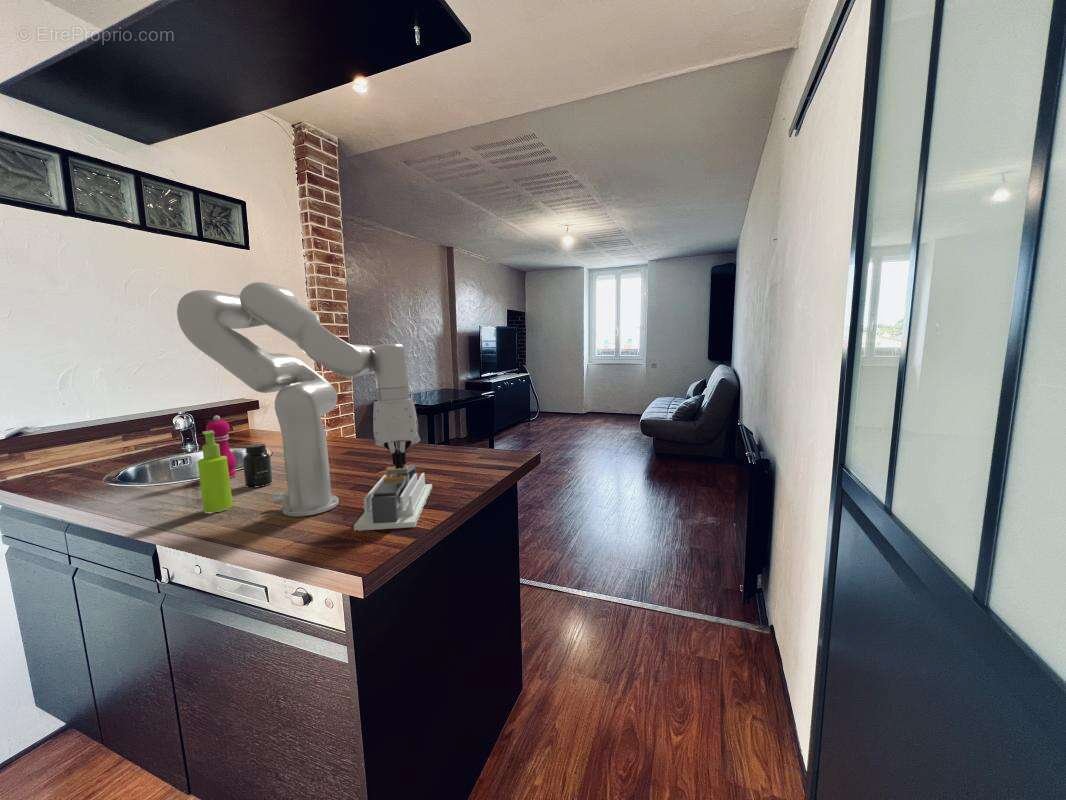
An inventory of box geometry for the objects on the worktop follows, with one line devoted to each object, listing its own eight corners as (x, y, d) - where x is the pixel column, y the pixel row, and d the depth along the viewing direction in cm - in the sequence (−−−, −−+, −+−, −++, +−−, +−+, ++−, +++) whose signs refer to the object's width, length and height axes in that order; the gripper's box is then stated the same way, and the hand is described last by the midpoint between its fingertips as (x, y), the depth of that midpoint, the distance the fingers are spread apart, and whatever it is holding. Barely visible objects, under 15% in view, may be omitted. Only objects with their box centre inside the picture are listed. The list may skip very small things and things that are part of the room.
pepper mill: (223, 481, 131) (215, 417, 128) (203, 480, 132) (195, 417, 129) (243, 474, 138) (236, 413, 135) (224, 473, 139) (217, 413, 136)
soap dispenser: (229, 502, 112) (220, 428, 109) (235, 508, 107) (225, 431, 105) (202, 508, 108) (191, 431, 105) (206, 515, 103) (195, 435, 100)
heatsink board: (354, 530, 92) (351, 500, 91) (384, 490, 118) (383, 466, 117) (415, 527, 93) (413, 496, 92) (432, 488, 119) (430, 464, 118)
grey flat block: (373, 497, 94) (372, 490, 93) (385, 483, 103) (384, 476, 103) (396, 496, 94) (396, 489, 94) (405, 482, 104) (405, 475, 104)
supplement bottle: (263, 488, 123) (258, 448, 121) (240, 488, 123) (235, 448, 121) (277, 480, 130) (273, 442, 128) (255, 481, 130) (251, 443, 128)
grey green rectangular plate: (386, 474, 105) (386, 467, 105) (396, 469, 115) (396, 463, 115) (407, 473, 106) (407, 466, 106) (414, 468, 116) (414, 462, 116)
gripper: (357, 398, 99) (365, 473, 102) (421, 394, 101) (428, 469, 103) (366, 394, 107) (374, 465, 109) (426, 391, 108) (432, 461, 110)
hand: (400, 467), depth 106 cm, fingers closed
